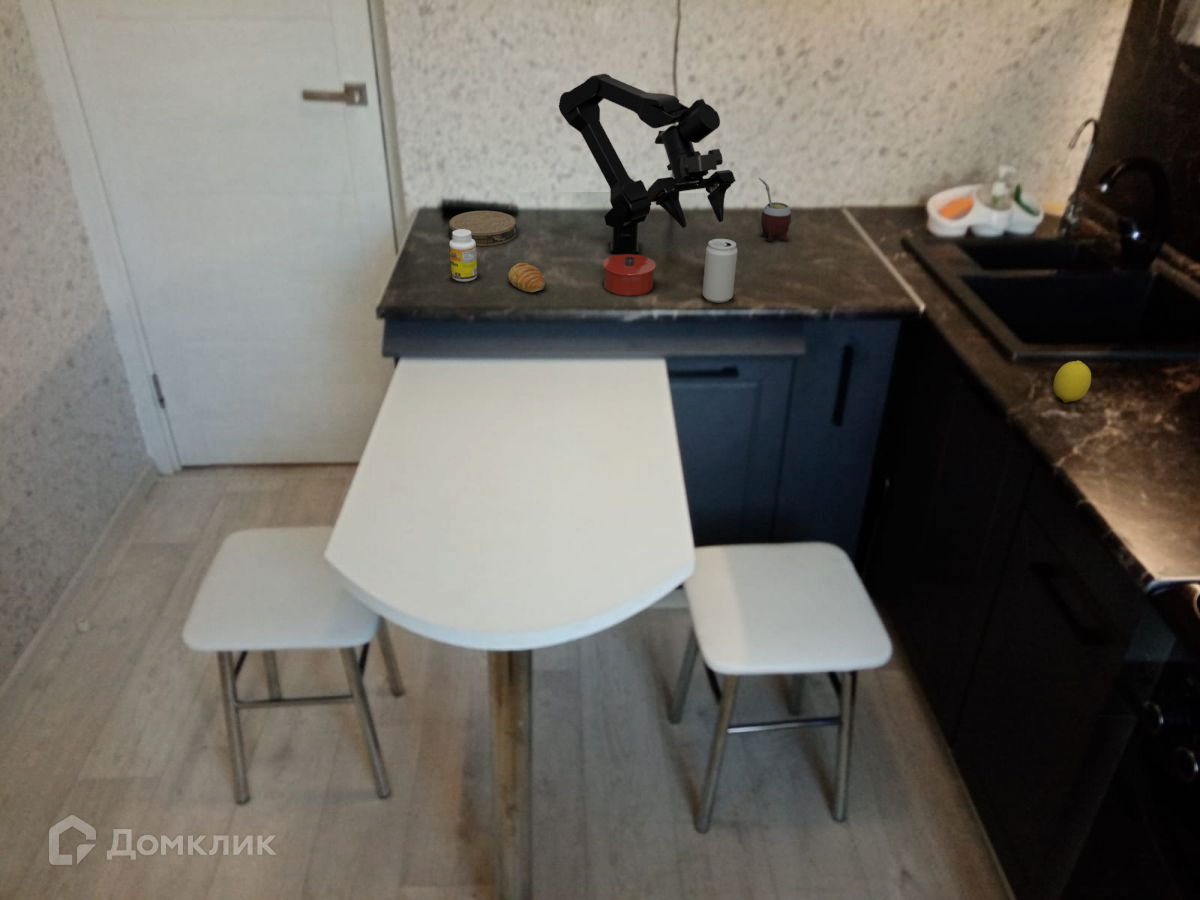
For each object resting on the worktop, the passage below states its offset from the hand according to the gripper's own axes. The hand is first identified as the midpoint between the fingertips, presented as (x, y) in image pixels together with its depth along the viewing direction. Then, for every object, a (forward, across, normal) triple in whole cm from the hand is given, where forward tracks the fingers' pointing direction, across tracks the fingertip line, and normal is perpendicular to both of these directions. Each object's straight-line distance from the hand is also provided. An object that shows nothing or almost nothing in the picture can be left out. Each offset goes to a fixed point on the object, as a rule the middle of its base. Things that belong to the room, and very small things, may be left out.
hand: (703, 224), depth 189 cm
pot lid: (+3, -14, +11) cm, 18 cm away
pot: (+6, -14, +14) cm, 20 cm away
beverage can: (+15, 0, +3) cm, 16 cm away
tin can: (-21, -30, +46) cm, 59 cm away
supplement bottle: (-6, -44, +29) cm, 52 cm away
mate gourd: (-1, +32, +20) cm, 38 cm away
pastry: (0, -33, +22) cm, 39 cm away
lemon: (+56, +29, -44) cm, 78 cm away
